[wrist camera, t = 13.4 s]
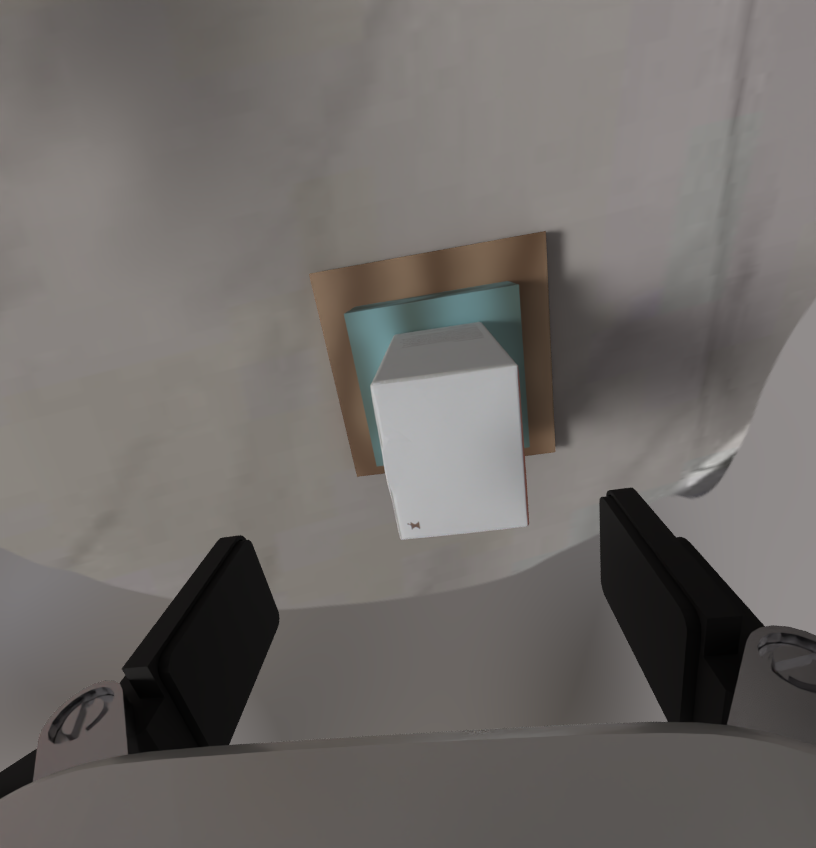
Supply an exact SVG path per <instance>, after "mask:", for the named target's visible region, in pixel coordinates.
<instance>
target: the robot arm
mask: <svg viewBox="0 0 816 848" xmlns="http://www.w3.org/2000/svg"><path fill="white" fill-rule="evenodd" d="M600 555H601V556H600V559H601V584H602V589H603V592H604V595H605V597H606V599H607V601H608V603H609V605H610V607H611V609H612V611H613V613H614V615H615V617H616V619H617V621H618V623H619V625H620V627H621V629H622V631H623V633H624V635H625V637H626V639H627V641H628V643H629V645H630V647H631V649H632V651H633V653H634V655H635V657H636V659H637V661H638V663H639V665H640V667H641V669H642V671H643V673H644V675H645V677H646V679H647V681H648V683H649V685H650V687H651V689H652V691H653V693H654V695H655V697H656V699H657V701H658V703H659V705H660V707H661V709H662V711H663V713H664V715H665V716H666V718H667V721H668V722H637V723H636V722H635V723H606V724H578V725H557V726H540V727H521V728H502V729H484V730H465V731H448V732H447V731H446V732H432V733H431V732H430V733H413V734H396V735H379V736H362V737H348V738H330V739H314V740H299V741H283V742H269V743H253V744H238V745H229V743H230V741H231V739H232V736H233V734H234V732H235V729H236V726H237V724H238V722H239V719H240V717H241V715H242V712H243V710H244V707H245V705H246V703H247V700H248V698H249V695H250V693H251V691H252V688H253V686H254V683H255V681H256V679H257V676H258V674H259V671H260V669H261V666H262V664H263V662H264V659H265V657H266V655H267V652H268V650H269V647H270V645H271V642H272V640H273V637H274V635H275V633H276V630H277V628H278V625H279V612H278V609H277V607H276V604H275V602H274V599H273V596H272V594H271V591H270V589H269V586H268V583H267V581H266V578H265V576H264V573H263V570H262V568H261V565H260V563H259V560H258V557H257V555H256V552H255V550H254V547H253V544H252V543H251V541H250V540H246V539H245V537H243V536H241V535H240V536H232V537H224V538H220V539H219V540H218V541H217V542H216V544H215V545H214V546H213V548H212V549H211V550H210V552H209V553H208V554H207V556H206V557H205V558H204V560H203V561H202V562H201V564H200V565H199V566H198V568H197V569H196V570H195V572H194V573H193V574H192V576H191V577H190V578H189V580H188V581H187V582H186V584H185V585H184V586H183V588H182V589H181V590H180V592H179V593H178V594H177V596H176V597H175V598H174V600H173V601H172V602H171V604H170V605H169V606H168V608H167V609H166V610H165V612H164V613H163V614H162V616H161V617H160V619H159V620H158V621H157V623H156V624H155V625H154V626H153V628H152V629H151V630H150V632H149V633H148V634H147V636H146V637H145V639H144V640H143V641H142V643H141V644H140V645H139V646H138V648H137V649H136V650H135V652H134V653H133V655H132V656H131V657H130V658H129V660H128V661H127V662H126V664H125V665H124V666H123V668H122V670H123V672H124V673H125V677H124V678H123V679H122V681H121V682H120V683H118V682H116V681H113V680H111V681H110V680H105V681H102V682H98V683H94V684H92V685H90V686H88V687H86V688H84V689H82V690H81V691H79V692H78V693H76V694H75V695H73V696H72V697H70V698H69V699H68V700H67V701H66V702H64V703H63V704H62V705H61V706H60V707H59V708H58V709H57V710H56V711H55V712H54V713H53V714H52V715H51V716H50V718H49V719H48V720H47V722H46V723H45V725H44V727H43V728H42V730H41V733H40V736H39V739H38V746H37V749H36V750H34V751H32V752H31V753H29V754H28V755H26V756H25V757H23V758H22V759H20V760H19V761H17V762H16V763H14V764H12V765H11V766H9V767H8V768H6V769H5V770H3V771H2V772H0V848H816V635H813V634H811V633H808V632H806V631H803V630H799V629H795V628H791V627H786V626H766V627H765V626H764V625H763V624H762V623H761V622H760V621H759V620H758V618H757V617H756V616H755V615H754V614H753V613H752V612H751V610H750V609H749V608H748V607H747V606H746V605H745V604H744V603H743V601H742V600H741V599H740V598H739V597H738V596H737V595H736V594H735V592H734V591H733V590H732V589H731V588H730V587H729V586H728V585H727V583H726V582H725V581H724V580H723V579H722V578H721V577H720V576H719V574H718V573H717V572H716V571H715V570H714V569H713V568H712V567H711V566H710V565H709V563H708V562H707V561H706V560H705V559H704V558H703V557H702V555H701V554H700V553H699V552H698V551H697V550H696V549H695V548H694V546H693V545H692V544H691V543H690V542H689V541H688V540H687V539H685V538H682V537H677V538H676V537H675V536H674V535H673V533H672V532H671V531H670V530H669V529H668V528H667V526H666V525H665V524H664V523H663V522H662V521H661V520H660V518H659V517H658V516H657V515H656V514H655V513H654V511H653V510H652V509H651V508H650V507H649V505H648V504H647V503H646V502H645V501H644V500H643V498H642V497H641V496H640V495H639V494H638V493H637V491H636V490H635V489H634V488H624V489H616V490H609V491H608V492H607V494H606V497H601V498H600Z"/></svg>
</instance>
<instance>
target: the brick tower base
mask: <svg viewBox="0 0 816 848" xmlns="http://www.w3.org/2000/svg"><path fill="white" fill-rule="evenodd" d="M309 275H310V280H311V284H312V288H313V292H314V297H315V301H316V305H317V309H318V313H319V318H320V322H321V326H322V330H323V334H324V339H325V343H326V347H327V351H328V356H329V360H330V364H331V368H332V372H333V377H334V381H335V385H336V389H337V394H338V398H339V402H340V406H341V410H342V415H343V419H344V423H345V427H346V431H347V436H348V440H349V444H350V448H351V453H352V457H353V461H354V465H355V469H356V474H357V477H359V476H367V475H375V474H383V473H385V470H384V464H383V456H382V450H381V445H380V439H379V434H378V428H377V423H376V418H375V412H374V406H373V401H372V395H371V387H370V386H371V383H372V381H373V379H374V377H375V375H376V373H377V371H378V368H379V366H380V364H381V362H382V360H383V358H384V355H385V353H386V351H387V349H388V347H389V345H390V343H391V341H392V338H393V336H394V335H396V334H402V333H409V332H415V331H422V330H429V329H435V328H442V327H448V326H455V325H462V324H468V323H475V322H481V323H482V324H483V325H484V326H485V327H486V328H487V330H488V331H489V332H490V333H491V334H492V336H493V337H494V338H495V339H496V341H497V342H498V343H499V344H500V345H501V346H502V348H503V349H504V350H505V351H506V352H507V353H508V355H509V356H510V357H511V358H512V359H513V360H514V362H515V363H516V364H517V365H518V369H519V381H520V394H521V410H522V424H523V437H524V453H525V456H528V455H536V454H544V453H552V452H555V431H554V409H553V386H552V363H551V341H550V318H549V295H548V273H547V250H546V231H544V232H538V233H532V234H527V235H521V236H516V237H510V238H505V239H499V240H494V241H488V242H483V243H477V244H472V245H466V246H460V247H455V248H449V249H444V250H438V251H433V252H427V253H422V254H416V255H411V256H405V257H399V258H394V259H388V260H383V261H377V262H372V263H366V264H361V265H355V266H350V267H344V268H338V269H333V270H327V271H322V272H316V273H311V274H309Z"/></svg>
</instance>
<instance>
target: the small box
mask: <svg viewBox="0 0 816 848" xmlns="http://www.w3.org/2000/svg"><path fill="white" fill-rule="evenodd" d="M370 387H371V395H372V401H373V406H374V412H375V418H376V423H377V428H378V434H379V439H380V445H381V450H382V456H383V464H384V470H385V474H386V478H387V484H388V488H389V491H390V494H391V498H392V503H393V507H394V512H395V517H396V522H397V526H398V531H399V536H400V538H401V539H402V540H405V539H413V538H425V537H435V536H445V535H455V534H464V533H473V532H482V531H491V530H501V529H509V528H517V527H527V526H528V525H529V513H528V497H527V481H526V467H525V453H524V437H523V424H522V410H521V394H520V381H519V369H518V365H517V364H516V363H515V362H514V360H513V359H512V358H511V357H510V356H509V355H508V353H507V352H506V351H505V350H504V349H503V348H502V346H501V345H500V344H499V343H498V342H497V341H496V339H495V338H494V337H493V336H492V334H491V333H490V332H489V331H488V330H487V328H486V327H485V326H484V325H483V324H482V323H481V322H475V323H468V324H462V325H455V326H448V327H442V328H435V329H429V330H422V331H415V332H409V333H402V334H396V335H394V336H393V338H392V341H391V343H390V345H389V347H388V349H387V351H386V353H385V355H384V358H383V360H382V362H381V364H380V366H379V368H378V371H377V373H376V375H375V377H374V379H373V381H372V383H371V386H370Z"/></svg>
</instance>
